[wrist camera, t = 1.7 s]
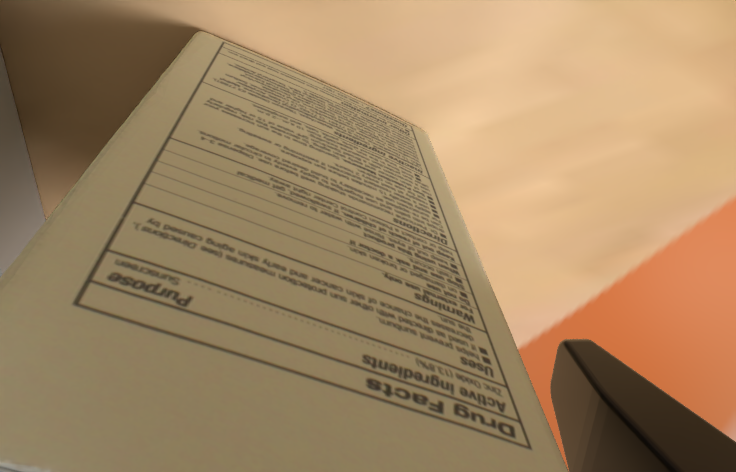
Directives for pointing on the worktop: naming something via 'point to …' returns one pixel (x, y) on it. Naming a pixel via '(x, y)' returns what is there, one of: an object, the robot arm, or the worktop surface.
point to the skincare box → (260, 296)
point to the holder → (15, 181)
